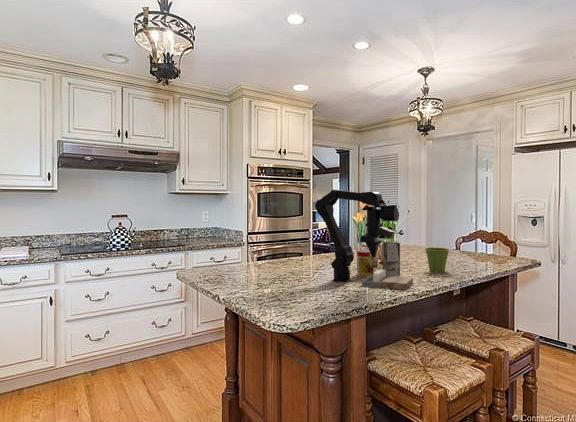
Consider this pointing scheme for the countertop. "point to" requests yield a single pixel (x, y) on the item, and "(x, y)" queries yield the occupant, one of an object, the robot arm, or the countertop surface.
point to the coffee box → (391, 258)
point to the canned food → (365, 263)
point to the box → (371, 282)
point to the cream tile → (379, 276)
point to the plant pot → (437, 258)
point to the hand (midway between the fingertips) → (374, 257)
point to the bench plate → (397, 282)
